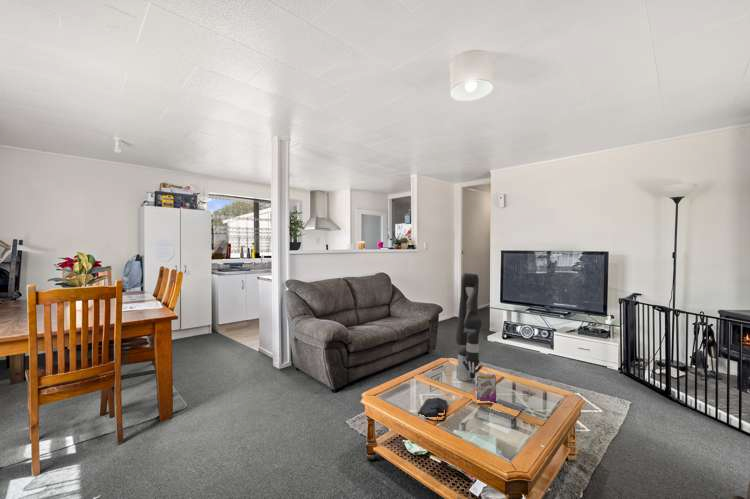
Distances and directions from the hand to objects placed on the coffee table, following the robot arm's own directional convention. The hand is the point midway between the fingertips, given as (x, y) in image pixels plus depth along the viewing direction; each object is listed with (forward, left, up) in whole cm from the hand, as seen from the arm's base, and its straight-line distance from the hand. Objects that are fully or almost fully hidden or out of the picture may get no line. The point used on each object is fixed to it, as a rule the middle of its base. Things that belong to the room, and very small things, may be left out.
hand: (472, 378), depth 199 cm
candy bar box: (+9, 0, -12) cm, 15 cm away
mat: (+20, 0, -12) cm, 24 cm away
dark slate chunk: (-9, -29, -13) cm, 33 cm away
